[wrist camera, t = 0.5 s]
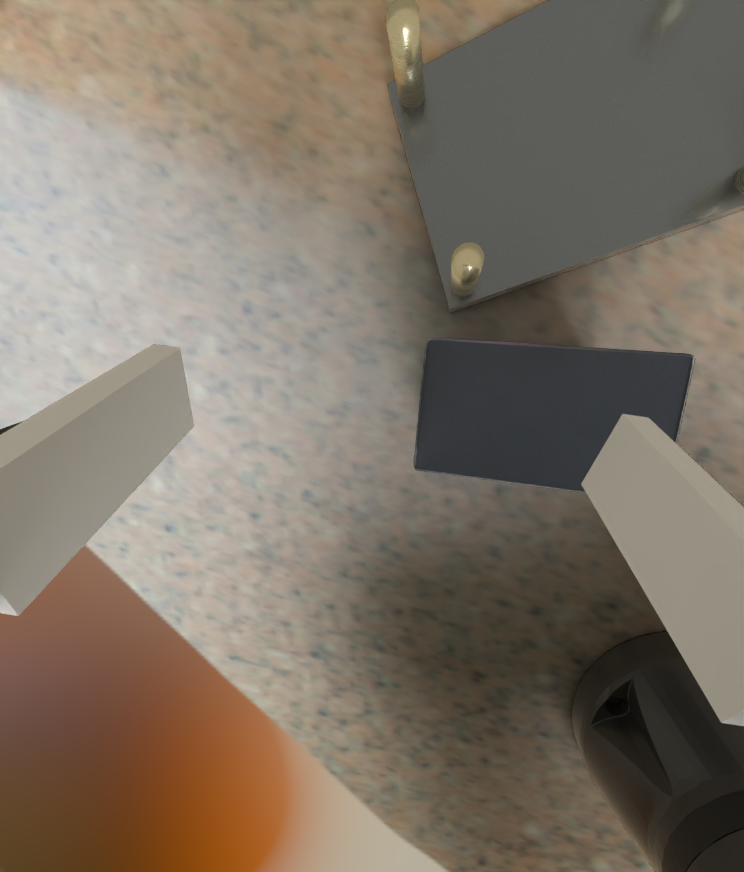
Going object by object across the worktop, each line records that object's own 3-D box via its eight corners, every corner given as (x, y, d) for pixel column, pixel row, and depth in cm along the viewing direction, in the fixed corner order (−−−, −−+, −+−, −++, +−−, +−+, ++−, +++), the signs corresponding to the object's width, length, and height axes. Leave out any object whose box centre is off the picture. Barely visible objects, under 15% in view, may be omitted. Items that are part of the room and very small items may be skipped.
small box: (597, 359, 24) (709, 346, 14) (579, 456, 25) (670, 511, 15) (434, 348, 26) (425, 330, 16) (424, 439, 27) (411, 477, 17)
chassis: (760, 203, 21) (894, 129, 15) (450, 312, 25) (450, 291, 19) (708, -60, 20) (832, -267, 13) (391, 102, 24) (371, 3, 18)
